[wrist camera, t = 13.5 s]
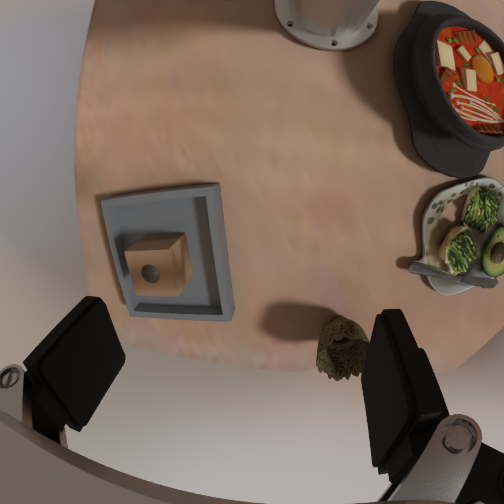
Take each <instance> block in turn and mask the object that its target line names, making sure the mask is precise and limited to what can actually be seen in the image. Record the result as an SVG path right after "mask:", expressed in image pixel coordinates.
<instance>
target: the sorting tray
mask: <svg viewBox="0 0 504 504" xmlns="http://www.w3.org/2000/svg"><path fill="white" fill-rule="evenodd" d="M101 206H102V211H103V216H104V221H105V226H106V230H107V235H108V239H109V244H110V248H111V252H112V256H113V260H114V264H115V267H116V271H117V275H118V278H119V282H120V285H121V289H122V292H123V295H124V299H125V302H126V305H127V308H128V311H129V314H130V316H132V317H145V318H159V319H177V320H199V321H231V320H232V317H233V314H234V311H235V306H234V299H233V291H232V284H231V276H230V268H229V260H228V252H227V244H226V235H225V227H224V218H223V209H222V201H221V191H220V183H211V184H201V185H191V186H182V187H173V188H164V189H156V190H148V191H141V192H134V193H127V194H120V195H114V196H110V197H108V198H105V199H103V200H101ZM170 233H186V237H187V243H188V248H189V254H190V260H191V265H192V271H193V275H192V277H191V278H190V280H189V281H188V283H187V284H186V286H185V287H184V289H183V290H182V292H181V293H180V295H179V296H138V295H136V294H135V290H134V287H133V283H132V280H131V276H130V272H129V268H128V264H127V261H126V257H125V252H124V251H126V250H127V249H128V248H129V247H131V246H132V245H133V244H135V243H136V242H137V241H139V240H140V239H141V238H143V237H144V236H145V235H155V234H170Z"/></svg>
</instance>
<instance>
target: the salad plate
mask: <svg viewBox="0 0 504 504" xmlns="http://www.w3.org/2000/svg"><path fill="white" fill-rule="evenodd" d="M464 195H467V198H466V200H465V203H464V207H463V212H462V216H461V218H460V221H459V222H458V223H457V224H456V226H454V227H453V228H452V229H451V228H449V229H448V230H447V231H446V232H444V233H443V232H442V231H441V229H440V226H439V223H438V220H439V218H440V216H441V214H442V213H443V211H444V210H445V209H446V207H447V206H448V205H449V204H450V203H451V202H453V201H454V200H455V199H457V198H459V197H461V196H464ZM422 243H423V255H422V258H421V260H418V261H412V262H411V263H410V264H409V266H408V271H409V272H410V273H412V274H418V275H425V276H426V277H427V279H428V281H429V283H430V285H431V286H432V287H433V288H434V289H435V290H436V291H438V292H439V293H441V294H443V295H448V296H449V295H453V294H457V293H459V292H462V291H464V290H467V289H470V288H472V287H474V286H481V288H494V287H495V286H496V285H497V284H498V280H497V277H498V276H500V275H502V274H503V273H504V187H503V186H502V185H501V184H500V183H499V182H498V181H497V180H495V179H493V178H489V177H476V178H474V179H472V180H470V181H467V182H463V183H460V184H456V185H454V186H451V187H449V188H447V189H444V190H442V191H440V192H439V193H438V194H436V196H435V197H434V198H433V199H432V200H431V201H430V203H429V205H428V206H427V208H426V210H425V212H424V214H423V217H422Z"/></svg>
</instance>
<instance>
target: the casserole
mask: <svg viewBox="0 0 504 504" xmlns="http://www.w3.org/2000/svg"><path fill="white" fill-rule="evenodd" d="M393 63H394V75H395V79H396V84H397V88H398V90H399V93H400V95H401V98H402V101H403V103H404V106H405V108H406V111H407V114H408V117H409V123H410V129H411V135H412V141H413V146H414V148H415V150H416V151H417V153H418V155H419V156H420V157H421V159H422V160H423V161H424V162H425V163H426V164H427V165H429V166H430V167H432V168H433V169H435V170H436V171H438V172H440V173H442V174H444V175H447V176H450V177H455V178H470V177H473V176H476V175H478V174H479V173H480V172H481V171H482V170H483V169H484V166H485V164H486V161H487V159H488V157H489V154H490V152H491V151H493V150H496V149H500V148H501V147H503V146H504V43H503V41H502V40H501V39H500V38H499V37H498V36H497V35H496V34H495V33H494V32H493V31H492V30H491V29H489V28H488V27H486V26H485V25H483V24H482V23H480V22H478V21H476V20H474V19H471V18H470V17H469V16H468V15H466V14H465V13H463V12H462V11H460V10H458V9H457V8H455V7H453V6H450V5H448V4H445V3H442V2H437V1H424V2H422V3H420V4H418V7H417V9H416V11H415V13H414V16H413V19H412V21H411V22H410V23H409V25H408V26H407V27H406V28H405V30H404V31H403V32H402V33H401V35H400V36H399V38H398V41H397V43H396V46H395V51H394V58H393Z"/></svg>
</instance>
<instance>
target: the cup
mask: <svg viewBox="0 0 504 504" xmlns="http://www.w3.org/2000/svg"><path fill="white" fill-rule="evenodd" d="M369 344H370V342H369V340H368V338H367V336H366V334H365V332H364V331H363V329H362V328H361V327H360V326H359V325H358V324H357V323H356V322H354V321H352V320H349V319H347V318H345V317H341V316H340V317H335V318H333V319H332V320H331V321H330V322H329V323H328V325H327V326H326V327H325V328H324V329H323V331H322V332H321V334H320V337H319V342H318V350H317V360H316V366H317V367H318V370H319V372H320V373H321V372H322V370H323V371H324V372H325V373H327V374H328V377H329V379H331V378H332V377H333V378H334V379H335V380H336V381H339V380H341V379H342V378H343V377H345V378H346V379H347V380H349V378H350V375H351V373H352V374H353V375H355V376H359V373H360V372H361V373H362V370H363V366H364V363H365V359H366V356H367V352H368V348H369Z"/></svg>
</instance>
